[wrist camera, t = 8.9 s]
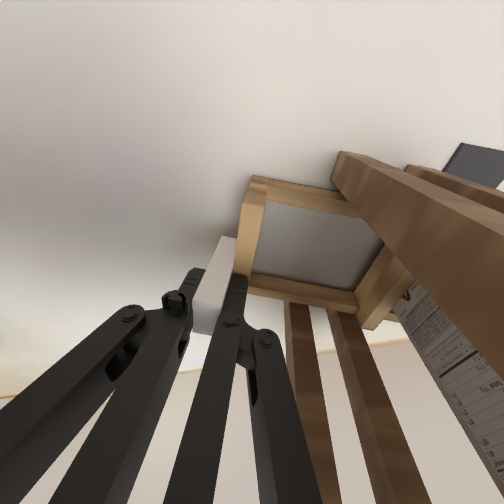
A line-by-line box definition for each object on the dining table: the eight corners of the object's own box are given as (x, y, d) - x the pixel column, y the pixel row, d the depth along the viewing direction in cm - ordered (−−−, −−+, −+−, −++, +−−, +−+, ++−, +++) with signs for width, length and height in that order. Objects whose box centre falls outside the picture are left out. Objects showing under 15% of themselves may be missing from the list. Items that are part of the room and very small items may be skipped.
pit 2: (461, 142, 13) (465, 143, 13) (519, 154, 13) (524, 155, 13) (422, 200, 16) (425, 201, 15) (472, 210, 16) (475, 211, 15)
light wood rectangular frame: (253, 175, 15) (242, 203, 10) (581, 239, 16) (723, 297, 11) (236, 277, 21) (224, 325, 16) (473, 322, 22) (532, 384, 17)
